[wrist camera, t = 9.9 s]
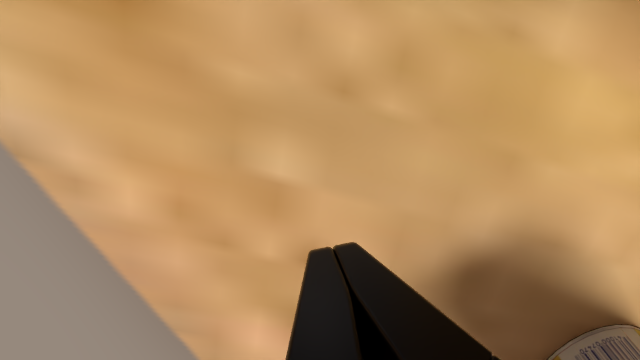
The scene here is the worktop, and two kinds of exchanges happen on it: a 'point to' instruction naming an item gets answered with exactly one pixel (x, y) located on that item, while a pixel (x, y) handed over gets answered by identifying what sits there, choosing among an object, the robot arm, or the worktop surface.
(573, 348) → the canned food
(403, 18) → the worktop surface
